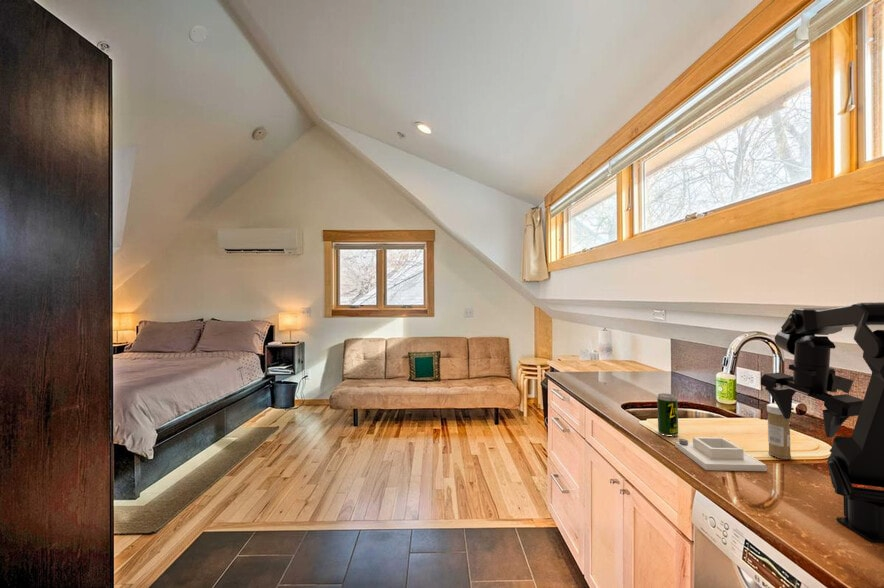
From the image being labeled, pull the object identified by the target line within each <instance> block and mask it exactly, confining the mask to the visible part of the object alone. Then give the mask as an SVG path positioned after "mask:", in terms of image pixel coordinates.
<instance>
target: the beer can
mask: <svg viewBox="0 0 884 588" xmlns="http://www.w3.org/2000/svg"><path fill="white" fill-rule="evenodd" d="M656 400H657V404H656V405H657V429H658V430H657V431H658V433H659V434H660V435H661V434H664V435H672V436H676V437H678V435H679V410H678V409H679V407H678V398H677V395H675V394H672V393H664V392H662V393H658V394H657V399H656ZM664 435H663V436H664Z"/></svg>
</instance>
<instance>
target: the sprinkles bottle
mask: <svg viewBox="0 0 884 588" xmlns="http://www.w3.org/2000/svg"><path fill="white" fill-rule="evenodd" d="M766 411H767V438H768V439H767V440H768V452H767V453H768V455H770V454H771V455H773V456H775V457H774V458H776V457H777V459H779V460H780V459H781V460H789V459H791V458H792V454H791V429H790V418H789V419H785V418H784V416H783V415H782V413H781V411H780V409H779V407H778V406H777V404H776V403H768V404H766ZM771 455H770V456H771ZM773 456H772V457H773Z"/></svg>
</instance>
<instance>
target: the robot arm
mask: <svg viewBox="0 0 884 588" xmlns="http://www.w3.org/2000/svg"><path fill="white" fill-rule="evenodd" d="M869 326H884V302H857V303H854V304H851V305H846V306H845V305H844V306H839V307H833V308H831V307H826V308H825V307H824V308H823V307H821V308H820V307H819V308H818V307H816V308H815V307H813V308H812V307H811V308H810V307H809V308H806V307H805V308H804V307H803V308H799V307H798V308H794V309H793V310H792V311H791V313H790V314H789V315H788V317H787V319H786V320H785V322H784V323H783V324H782V326H780V327H781V329H780V330H779V331H778V332H777V333H776V334H775V336H774V342H775V345H776V346H777V347H778V348H780V349H781V350H784V351H786V352H787V353H789V354H790V355H793V364H788V370H791V371H793V375H789V374H786V373H783V372H779V371H778V372H771V373H764V374H763V375H762V376H761V377H760V386H763V387H764V388H765V389H764V390H766V391H767V392H768V393H769V394H770V396H771V397H772V399H773V400H774V403H775V404H777V406H778V407H779V409H780V411H781V413H782V415H783V416H784V418H785V419H789V420H790V418H791V415H792V406H793V397H794V395H795V394H796V393H800V394H803V395H805V396H808V397H810V398H813V399H816V400H818V401H821V402H823V406H824V407H825V409H822V417H823V423H824V424H823V425H824V426H823V427H824V432H825V436H826V438H829V439H832V438H833V437H834V436H835V435H836V434H837V433H838V431H839V429H840V428H841V427H842V426H843V424H844V423H845V422H846V421H847V419H849V418H850V417H857V419H856V421H855V425H854V428H853V432H852V434H851V436H841V435H836V436H835V437H834V438H833V440H832V447H831V448H830V449H829V452H830V455H829V456H828V458H827V468H828V471H829V476H830V481H831V484H832V488H833V489H834V493H835V494H837V495H840V496H842V497H843V516H841V517H840V516H837V517H836V521H837V522H839V523H840V524H842V525H843V526H845V527H847V528H849V529H850V530H851V531H853V532H855V533H856V534H858V535H860V536H861V537H863V538H865V539H866V540H867V541H869V542H873V543H884V489H883V488H884V329H876V330H874V331H873V330H871V328H870V327H869ZM851 327H855V328H856V329H855V332H854V336H853V340H854V342H855V343H856V344H857V346H859V348H860V349H861V351H863V352H862V359H863V360H864V361H865V363H866V364H867V366H868V367H869V368H868V369H870V371H871V375H870V378H869V382H868V384H867V389H866V391H865V394H864V398H863V399H862V398H859V397H856V396H853V395H851V394H849V393H850V390H851V388H852V387H853V383H854V380H853V379H850V378H846V377H843V376H840V375H836V370H835V369H834V368H832V367H830V362H831V361H830V360H831V349H836V345H835V343H834V342H833V341H832V340H830V339H829V337H828V336H829V335H833V334H837V333H839V332H842V331H843V328H851ZM838 391H842V392H843V393H846V394H837V395H835V394H834V395H833V394H830V393H836V392H838ZM828 392H830V393H828ZM853 485H858V486H853ZM859 485H860V486H861V487H859ZM862 486H869V487H874V488H869V487H862ZM875 487H877V489H875ZM878 488H882V489H878Z"/></svg>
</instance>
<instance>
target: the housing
mask: <svg viewBox="0 0 884 588" xmlns="http://www.w3.org/2000/svg"><path fill="white" fill-rule="evenodd" d="M674 446H675V448H676V449H677V450H679V451H680V452H681V453H682V454H684V455H685V456H687V457H688V458H689V459H690V460H692V461H693V462H694V463H696V464H697V465H699V467H701V468H702V469H703V470H705V471H734V472H735V471H736V472H738V471H739V472H767V469H768V468H767V464H765V463H764V462H762V461H760V460H758V459H757V458H755V457H753V456H752V455H749V454H748V453H746V452H745V451H744V449H743V448H742V447H740V446H738V445H737V444H735V443H733V442H732V441H730V440H728V439H726V438H724V437H719V436H718V437H717V436H716V437H715V436H714V437H711V436H710V437H709V436H708V437H704V436H703V437H702V436H701V437H700V436H699V437H698V436H697V437H696V436H695V437H694V436H692V441H688V440H687V439H686V438H680V439H679V441H675V442H674Z"/></svg>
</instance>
